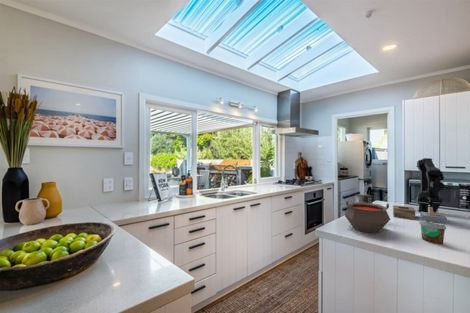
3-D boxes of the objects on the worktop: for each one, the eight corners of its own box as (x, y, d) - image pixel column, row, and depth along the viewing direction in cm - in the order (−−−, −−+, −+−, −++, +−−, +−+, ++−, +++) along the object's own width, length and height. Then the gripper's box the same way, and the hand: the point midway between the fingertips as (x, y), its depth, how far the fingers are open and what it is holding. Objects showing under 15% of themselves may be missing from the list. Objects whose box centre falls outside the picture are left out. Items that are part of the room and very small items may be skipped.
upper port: (393, 213, 170) (393, 205, 170) (413, 215, 164) (413, 207, 164) (393, 216, 160) (393, 208, 160) (415, 219, 154) (415, 210, 154)
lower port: (420, 216, 162) (420, 211, 162) (442, 219, 155) (442, 214, 155) (422, 220, 152) (423, 215, 151) (447, 223, 145) (447, 218, 145)
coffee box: (367, 216, 160) (368, 194, 160) (372, 219, 154) (372, 195, 153) (354, 216, 161) (354, 193, 161) (358, 219, 155) (358, 195, 154)
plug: (428, 217, 156) (428, 207, 156) (436, 218, 154) (436, 207, 154) (429, 218, 153) (429, 208, 153) (437, 219, 150) (438, 209, 150)
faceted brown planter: (345, 232, 128) (346, 204, 128) (342, 220, 150) (343, 196, 150) (396, 239, 119) (396, 208, 119) (385, 225, 141) (385, 199, 141)
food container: (412, 236, 123) (412, 218, 123) (423, 236, 123) (423, 217, 123) (434, 245, 111) (434, 225, 110) (445, 245, 111) (446, 225, 111)
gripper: (416, 185, 165) (416, 206, 165) (420, 188, 149) (419, 212, 150) (436, 186, 159) (436, 208, 159) (442, 190, 143) (442, 214, 144)
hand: (433, 210), depth 153 cm, fingers open, 9 cm apart
